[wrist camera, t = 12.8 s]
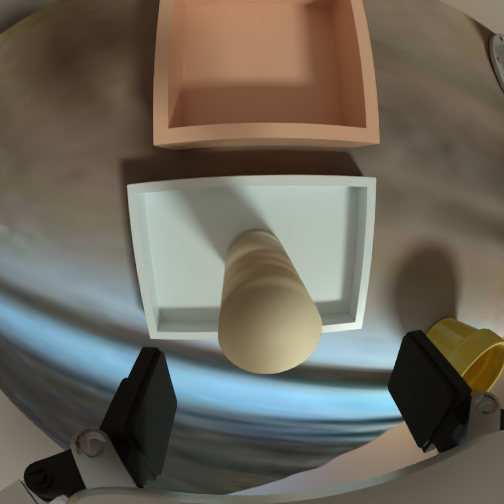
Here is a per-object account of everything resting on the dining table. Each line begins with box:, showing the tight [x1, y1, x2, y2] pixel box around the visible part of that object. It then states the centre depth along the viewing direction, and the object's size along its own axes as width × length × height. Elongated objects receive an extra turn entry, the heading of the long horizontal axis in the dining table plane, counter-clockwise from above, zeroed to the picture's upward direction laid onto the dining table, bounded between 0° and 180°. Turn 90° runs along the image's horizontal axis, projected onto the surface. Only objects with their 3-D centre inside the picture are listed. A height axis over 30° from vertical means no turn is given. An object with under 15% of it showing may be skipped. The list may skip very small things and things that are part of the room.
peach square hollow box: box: [153, 0, 380, 150], centre depth 17 cm, size 15×15×6 cm
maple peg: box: [218, 229, 322, 374], centre depth 19 cm, size 5×5×12 cm
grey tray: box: [127, 174, 376, 339], centre depth 24 cm, size 20×14×2 cm
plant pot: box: [426, 318, 504, 397], centre depth 25 cm, size 10×10×10 cm
